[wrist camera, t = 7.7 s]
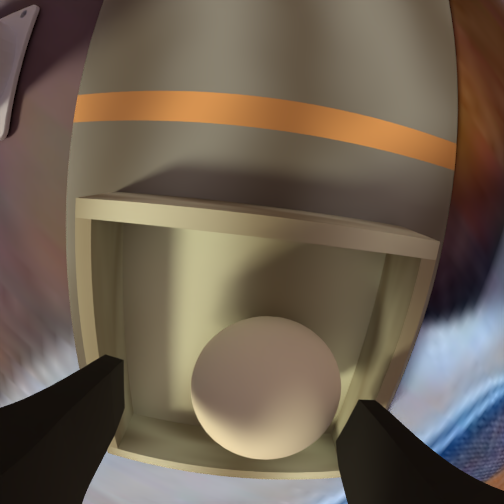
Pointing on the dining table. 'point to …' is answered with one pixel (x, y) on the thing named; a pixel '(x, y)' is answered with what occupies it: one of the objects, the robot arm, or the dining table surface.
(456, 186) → the dining table surface
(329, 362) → the ball
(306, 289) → the throwing board
